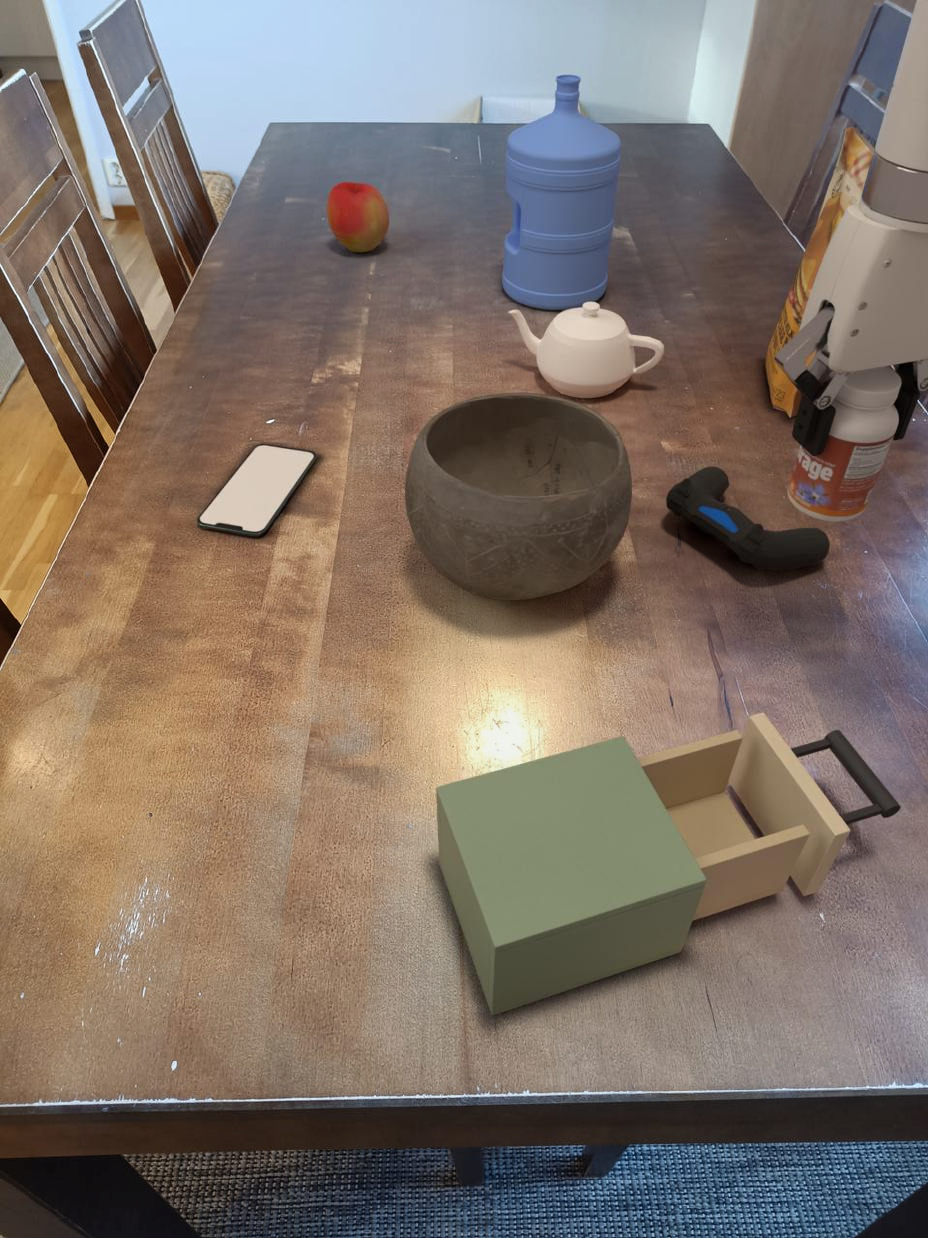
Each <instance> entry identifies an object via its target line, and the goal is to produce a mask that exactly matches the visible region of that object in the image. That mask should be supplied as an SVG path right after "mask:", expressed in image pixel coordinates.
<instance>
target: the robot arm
mask: <svg viewBox="0 0 928 1238" xmlns="http://www.w3.org/2000/svg"><path fill="white" fill-rule="evenodd" d="M906 33H907V34H906V37H905V39H904V43H903V47H902V51H901V54H900V58H899V61H898V65H897V68H896V71H895V72H896V73H895V75H894V79H893V83H892V86H891V88H890V92H889V97H888V100H887V103H886V108H885V111H884V114H883V118H882V120H881V126H880V128H879V132H878V135H877V139H876V143H875V147H874V149H875V150H874V153H873V157H872V160H871V164H870V168H869V171H868V175H867V178H866V182H865V185H864V189H863V192H862V195H861V199H860V202H859V204H855V205H851V206H848V208H847V209H846V211H845V213H844V215H843V217H842V218H841V220H840V222H839V224H838V226H837V228H836V230H835V232H834V234H833V236H832V239H831V241H830V243H829V245H828V248H827V250H826V252H825V255H824V257H823V260H822V262H821V265H820V267H819V270H818V273H817V275H816V278H815V281H814V284H813V287H812V290H811V293H810V296H809V299H808V302H807V305H806V308H805V311H804V315H803V318H802V322H801V325H800V329H799V332H798V333H797V334H796V335H795V336H794V337H793V338H792V339H791V340H790V341H789V342H788V343H787V344H786V345H785V346H784V347H782V348H781V349H780V350H779V351H778V352H777V353H776V355H775V357H774V360H775V362H776V363H777V365H778V366H779V367H780V368H781V369H782V371H783V372H784V373H785V374H786V375H787V377H788V379H789V380H790V381H791V382H792V383H793V384H794V386H795V387H796V389H797V390H798V391H799V392H800V393H801V394H802V397H801V401H800V404H799V408H798V412H797V415H796V416H795V419H794V423H793V426H792V432H791V435H792V438H793V439H794V440H795V441H796V442H797V443H798V444H799V446H800V445H801V446H802V447H803V448H804V449H805V450H806V451H808V452H809V453H810V454H811V455H812V456H818V455H821V454H822V453H823V451H824V448H825V445H826V442H827V439H828V436H829V432H830V429H831V426H832V423H833V420H834V417H835V413H836V409H835V408H834V407H833V406H832V405H831V403H832V401H833V400H834V398H835V397H836V395H837V394H838V392H839V391H840V389H841V388H842V386H843V385H844V383H845V382H846V380H847V379H848V377H849V376H850V375H851V373H852V372H854V371H860V370H866V369H872V368H878V367H884V366H886V367H889V366H893V367H894V371H895V372H896V373H897V374H898V375H899V376H900V378H901V387H900V390H899V393H898V396H897V399H896V400H895V402H894V403H893V405H894V406H895V408H896V409H897V412H898V416H899V422H898V426H897V429H896V432H895V435H894V437H893V440H892V441H900V440H903V439H904V438H905V437H906V432H907V430H908V428H909V425H910V422H911V419H912V418H913V414H914V412H915V410H916V407H917V404H918V401H919V398H920V396H921V393H920V392H925V391H927V390H928V0H916V1H915V4H914V8H913V12H912V15H911V19H910V23H909V26H908V29H907V32H906ZM818 348H819V349H818ZM817 349H818V351H817V352H816V354H815V356H814V357H813V359H812V360H811V362H810V363H809V365H808V366H806V360H807V358H808V357H809V356H810V355H811V354H812V353H813V352H814V351H815V350H817ZM827 369H829V370H831V372H830V373H829V374H828V375H827V378H826V379H825V381H824V382H823V383H821V382H820V379H821V378H822V376H823V375H824V373H826V370H827Z"/></svg>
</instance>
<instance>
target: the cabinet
mask: <svg viewBox="0 0 928 1238" xmlns="http://www.w3.org/2000/svg"><path fill="white" fill-rule="evenodd" d="M637 758H638V757H637V756H636V754H635V753H634V751H633V749H632V747H631V745H630V743H629V742H628V741H627V739H626V737H625V736H624V735H622V736H618V737H614V738H611V739H607V740H604V741H601V742H600V741H599V742H596V743H593V744H588V745H585V746H581V747H578V748H574V749H571V750H567V751H563V752H560V753H555V754H552V755H549V756H544V757H542V758H537V759H535V760H531V761H527V762H524V763H520V764H515V765H513V766H509V767H505V768H501V769H498V770H494V771H490V772H487V773H482V774H479V775H476V776H471V777H468V778H465V779H460V780H457V781H454V782H450V783H446V784H442V785H439V786H437V787H435V790H436V791H435V799H436V800H435V801H436V821H437V841H438V842H437V843H438V844H437V845H438V862H439V867H440V871H441V872H442V873H441V874H442V875H443V879H444V881H445V885H446V888H447V891H448V893H449V895H450V898H451V902H452V904H453V907H454V911H455V913H456V916H457V919H458V923H459V925H460V927H461V930H462V934H463V937H464V939H465V942H466V945H467V948H468V950H469V954H470V957H471V959H472V962H473V965H474V968H475V971H476V973H477V977H478V980H479V982H480V985H481V989H482V991H483V993H484V994H483V995H484V997H485V1001H486V1003H487V1006H488V1008H489V1011H490V1015H491V1016H496V1015H498V1014H499V1015H500V1014H502V1013H505V1012H509V1011H511V1010H513V1009H517V1008H519V1007H523V1006H525V1005H528V1004H531V1003H534V1002H537V1001H540V1000H544V999H545V998H549V997H552V996H556V995H558V994H561V993H564V992H567V991H570V990H573V989H576V988H580V987H581V986H585V985H589V984H591V983H594V982H597V981H600V980H603V979H606V978H609V977H611V976H615V975H618V974H620V973H624V972H626V971H629V970H632V969H635V968H639V967H641V966H644V965H647V964H650V963H653V962H656V961H659V960H661V959H665V958H667V957H671V956H673V955H677V954H679V953H682V950H683V948H684V945H685V942H686V941H687V937H688V935H689V932H690V929H691V926H692V923H693V921H694V920H693V918H694V915H695V912H696V910H697V907H698V904H699V901H700V899H701V896H702V893H703V890H704V887H705V884H706V881H707V879H706V877H705V875H704V874H703V872H702V870H701V868H700V867H699V865H698V863H697V861H696V860H695V858H694V856H693V855H692V853H691V851H690V849H689V848H688V846H687V844H686V842H685V841H684V839H683V837H682V836H681V834H680V832H679V830H678V829H677V827H676V825H675V823H674V822H673V820H672V818H671V816H670V815H669V813H668V811H667V810H666V808H665V806H664V804H663V803H662V801H661V799H660V797H659V796H658V794H657V792H656V791H655V789H654V787H653V785H652V784H651V782H650V780H649V778H648V777H647V775H646V773H645V772H644V770H643V768H642V766H641V765H640V763H639V761H638V759H637Z"/></svg>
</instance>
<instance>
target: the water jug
mask: <svg viewBox="0 0 928 1238" xmlns="http://www.w3.org/2000/svg"><path fill="white" fill-rule="evenodd" d="M581 81H582V78H581V76H579V75H573V74H561V75H558V76H556V77H555V82H556V90H554V91H555V92H554V97H555V98H554V99H555V100H554V108H553V111H552V112H549V113H548V114H546V115H544V116H542V117H539V118H537V119H535V120H533V121H531V122H528V123H526V124H525V125H522V126H520V127H518V128H516V129H514V130H513V131H511V133H510V134H509V135H508V137H507V141H506V151H505V164H504V165H505V166H504V167H505V192H506V194H507V195H508V196H509V197H510V198H511V199H513V200H512V224H511V225H512V226H511V230H510V231H509V232H508V233H507V235H506V236H505V237H504V241H503V268H502V277H501V284H502V289H503V290H504V292H505V293H506V295H507V296H508V297H509V298H510V299H512V300H514V302H515V301H516V302H518V303H519V304H521V305H524V306H527V307H531V308H535V309H539V310H547V311H565V310H568V309H572V308H579V307H582V305H583V304H584V303H586V302H597V301H599V299H600V298H602V296H603V295H604V294H605V292H606V289H607V286H608V277H609V274H608V270H609V269H608V268H609V259H610V250H611V242H612V237H613V232H614V224H615V223H614V222H615V216H614V214H615V204H616V196H617V187H618V178H619V174H620V169H621V160H622V159H621V158H622V153H621V150H622V140H621V139H620V137H619V135H618V134H617V133H616V132H614V131H613V130H611V129H609V128H607V127H606V126H604V125H602V124H600V123H599V122H596V121H595V120H594V119H593V120H592V119H591V118H589V117H587V116H586V115H584V114H581V112H580V111H579V99H580V93H581V92H580V91H579V90H580V83H581Z"/></svg>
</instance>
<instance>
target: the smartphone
mask: <svg viewBox="0 0 928 1238" xmlns="http://www.w3.org/2000/svg"><path fill="white" fill-rule="evenodd" d="M317 459H318V455H317V453H316V452H315V451H313V450H310V449H303V448H297V447H288V446H282V445H276V444H271V443H259V444H257V445H255V446H254V447H252V449H251V450H250V452H249V453H248V454H247V455H246V456H245V458H244V459H243V460H242V462H241V463H240V464H239V465H238V466H237V468H236V469H235V470H234V471H233V473H232V474H231V476H230V477H229V478H228V479H227V481H226V482H225V483H224V484H223V485H222V486H221V488H220V489H219V491H217V493H216V494H215V495H214V497H213V498H211V500H210V501H209V503H208V504H207V505H206V506H205V508H204V509H203V510H202V511H201V513H200V514H199V515H198V517H196V523H197V525H198V526H199V527H200V528H204V529H210V530H214V531H215V530H216V531H219V532H220V531H221V532H225V533H232V534H237V535H243V536H249V537H260V536H263V535H264V534H266V533H267V532H268V530H269V529H270V527H271V526H272V524H273V523H274V522H275V520H276V518H277V517H278V516H279V514H280V513H281V511H282V510H283V508H284V507H285V506H286V504H287V502H288V501H289V500H290V499H291V496H293V493H294V492H295V491H296V489H297V488H298V486H300V484H301V482H302V481H303V479H305V477H306V475H307V473H308V472H309V470H310V469H311V468H312V467H313V464H314V463H315V462H316V461H317Z"/></svg>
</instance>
